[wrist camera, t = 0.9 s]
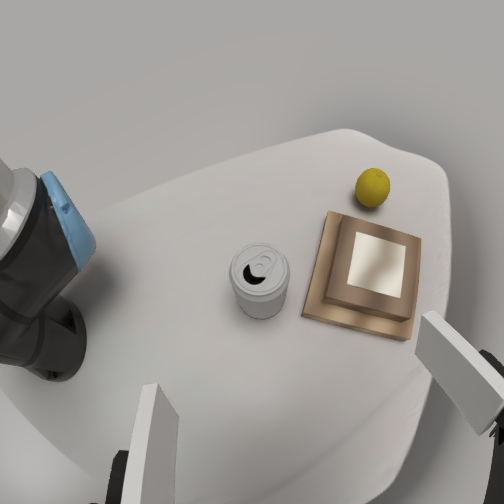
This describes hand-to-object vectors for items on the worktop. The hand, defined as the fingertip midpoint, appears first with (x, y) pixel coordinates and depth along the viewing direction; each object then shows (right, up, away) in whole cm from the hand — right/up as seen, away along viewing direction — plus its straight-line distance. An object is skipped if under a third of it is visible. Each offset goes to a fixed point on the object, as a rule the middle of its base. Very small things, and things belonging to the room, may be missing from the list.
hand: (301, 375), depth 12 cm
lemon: (+17, +14, +33) cm, 40 cm away
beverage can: (-1, -1, +28) cm, 28 cm away
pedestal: (+15, +2, +27) cm, 31 cm away
